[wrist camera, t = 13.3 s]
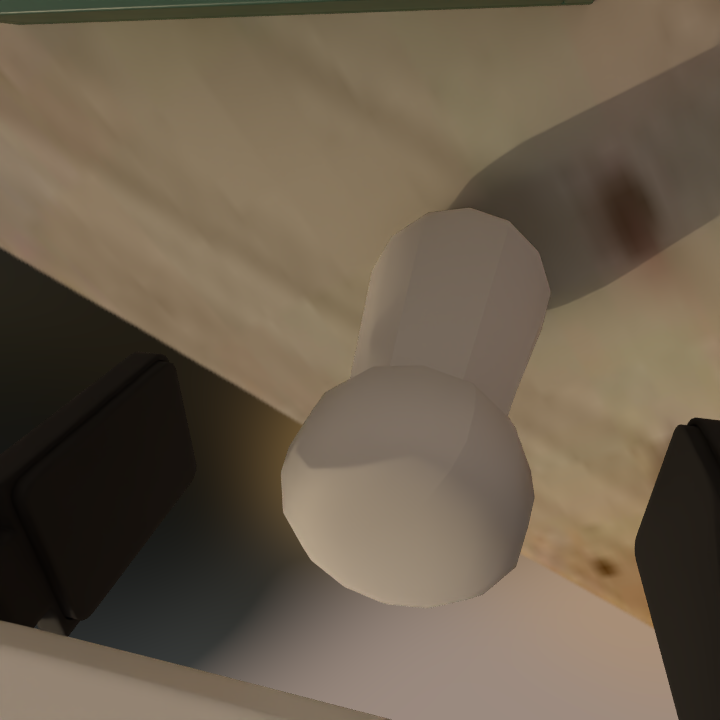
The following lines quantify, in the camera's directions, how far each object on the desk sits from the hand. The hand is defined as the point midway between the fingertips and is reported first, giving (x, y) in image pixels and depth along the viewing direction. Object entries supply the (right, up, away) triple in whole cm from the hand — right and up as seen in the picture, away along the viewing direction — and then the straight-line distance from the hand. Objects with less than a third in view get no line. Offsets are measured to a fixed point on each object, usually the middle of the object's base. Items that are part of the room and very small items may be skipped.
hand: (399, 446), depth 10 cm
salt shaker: (+3, +5, +9) cm, 11 cm away
